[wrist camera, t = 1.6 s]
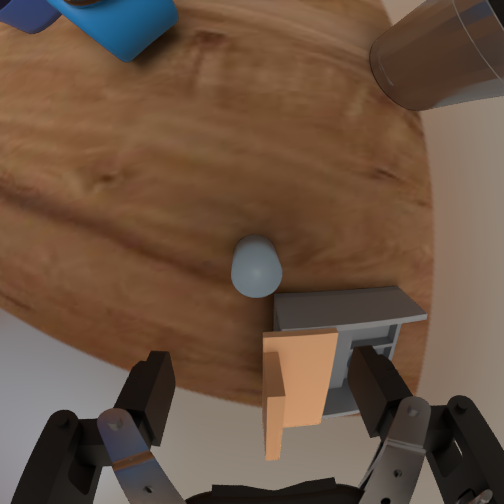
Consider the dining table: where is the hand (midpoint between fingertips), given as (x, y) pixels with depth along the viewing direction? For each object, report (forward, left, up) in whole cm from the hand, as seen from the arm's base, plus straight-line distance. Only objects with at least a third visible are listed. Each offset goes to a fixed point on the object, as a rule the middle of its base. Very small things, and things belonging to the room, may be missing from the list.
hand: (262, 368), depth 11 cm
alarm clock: (+5, -27, -16) cm, 32 cm away
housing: (-6, +12, -16) cm, 21 cm away
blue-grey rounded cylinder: (0, 0, -16) cm, 16 cm away
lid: (-1, +11, -9) cm, 15 cm away
